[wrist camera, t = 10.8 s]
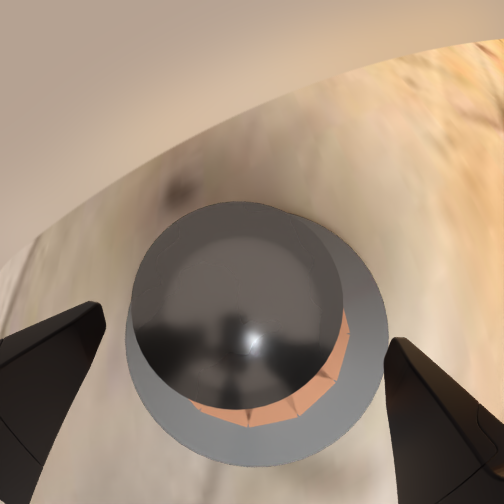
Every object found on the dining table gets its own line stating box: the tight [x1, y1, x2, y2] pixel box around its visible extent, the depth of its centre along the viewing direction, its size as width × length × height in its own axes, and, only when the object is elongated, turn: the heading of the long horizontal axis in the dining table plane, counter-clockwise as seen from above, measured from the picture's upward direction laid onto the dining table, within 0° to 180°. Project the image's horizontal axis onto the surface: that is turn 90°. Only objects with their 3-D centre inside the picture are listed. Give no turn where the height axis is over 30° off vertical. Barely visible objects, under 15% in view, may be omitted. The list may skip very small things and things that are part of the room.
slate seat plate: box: [125, 213, 389, 467], centre depth 17 cm, size 16×16×4 cm
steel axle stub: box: [131, 202, 343, 410], centre depth 12 cm, size 5×5×11 cm
